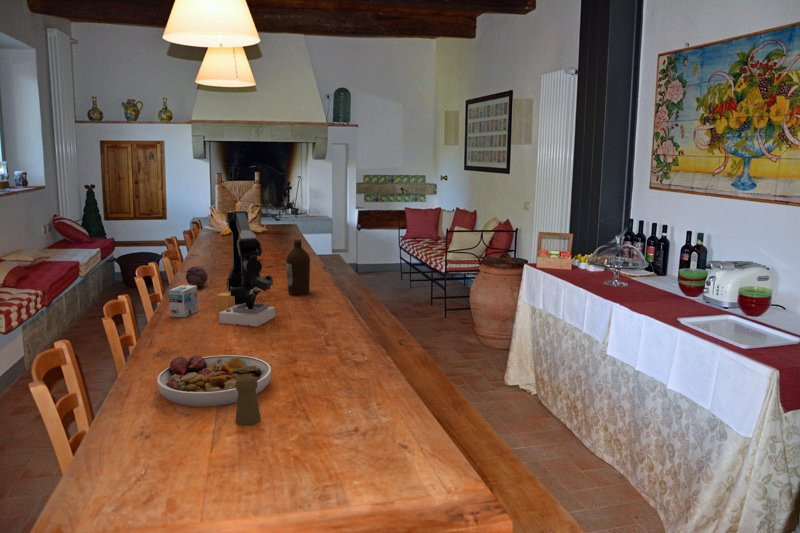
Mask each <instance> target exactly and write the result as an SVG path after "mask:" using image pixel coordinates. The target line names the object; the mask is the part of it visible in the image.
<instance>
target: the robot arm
mask: <svg viewBox="0 0 800 533" xmlns="http://www.w3.org/2000/svg"><path fill="white" fill-rule="evenodd" d="M249 221H250V219H249V211H247V210H245V209H234V210H232V211H231V210H230V211H228V212H226V214H225V222H226V223H227V227H228V229H229V230H230V231H231V257H232V266H231V268H230V269H229V271H228V276H227V279H226V290H227V291H228V292H229V293H230V294H231V296H235V305H238V304H244V303H246V305H247V307H248V309H253V306H254V303H256V299H257V296H258V295H259V294H260V293H261V292H262V291H263V292H266V291H268V290H270V289H271V286H272V285H273V284H274V280H273V276H272V275H266V276H261V273H260V272H261V271H262V269H263V265H262V263H261V261H260V260H259V259H258V257H260V256H262V252H263V251H262V245H261V242H260V240H259V239H258V238H257V235H256V233H254V232H252V230H251V228H250V223H249ZM259 289H260V290H259Z"/></svg>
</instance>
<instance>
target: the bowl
mask: <svg viewBox="0 0 800 533" xmlns="http://www.w3.org/2000/svg"><path fill="white" fill-rule="evenodd" d="M242 376H253V377H255V378H256V379H257V382H258V385H257V388H256V395H258V394H260V393H261V392H262V391H263V390H264V389H265V388H266V387H267V386H268V384H269V383H270V381H271V378H272V367H271V365H270V363H268V362H267V361H264V360H263V359H260V358H256V357H253V356H246V355H233V354H231V355H229V354H227V355H211V356H203V357H202V356H201V355H199V354H197V355H193V356H190V357H189V359H188V358H186V357H185V356H178V357H176V358H174V359H172V361H170V363H169V367H166V368H165V369H164V370H162V371H161V372H160V373H159V374H158V376H156V385H157V388H158V390H159V392H160V394H161V395H162V396H163V397H164V398H165V399H167V400H168V401H170V402H172V403H174V404H178V405H181V406H187V407H198V408H200V407H201V408H204V407H205V408H207V407H209V408H210V407H220V406H225V405H226V406H227V405H231V404H237V399H238V391H237V389H236V386H235V384H236V380H237V379H238V378H239V377H242Z"/></svg>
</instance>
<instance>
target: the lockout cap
mask: <svg viewBox="0 0 800 533" xmlns="http://www.w3.org/2000/svg"><path fill="white" fill-rule="evenodd" d="M233 306H235V296H231V294H230V292H221V293H219V294H216V312H217V316H219V312H222V311H224V310H226V309H229V308H231V307H233Z"/></svg>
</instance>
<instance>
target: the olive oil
mask: <svg viewBox="0 0 800 533" xmlns="http://www.w3.org/2000/svg"><path fill="white" fill-rule="evenodd" d="M285 263H286V265H285V266H286V276H287V277H286V278H287V290H288V295H290V296H292V297H293V296H295V297H302V296H307V295H309V294H310V282H311V281H310V280H311V279H310V277H311V276H310V275H311V274H310V273H311V271H310V270H311V258H310V255H309V254H308V252H307V251H306V250H305V249H304V248H303V247H302V239H301V238H294V239H293V248H292V249H291V250H290V251H289V252H288V254H287V255H286V261H285Z"/></svg>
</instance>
